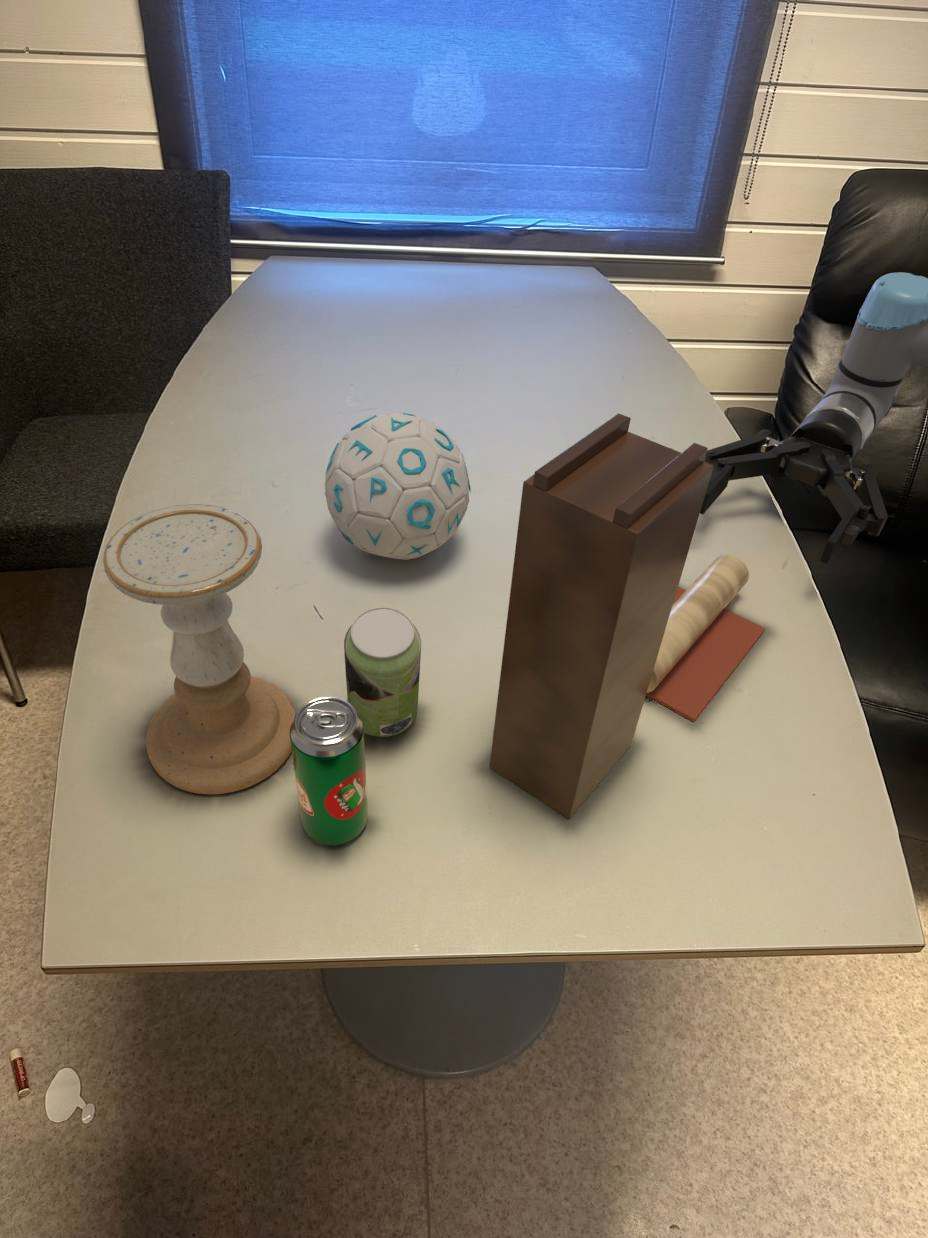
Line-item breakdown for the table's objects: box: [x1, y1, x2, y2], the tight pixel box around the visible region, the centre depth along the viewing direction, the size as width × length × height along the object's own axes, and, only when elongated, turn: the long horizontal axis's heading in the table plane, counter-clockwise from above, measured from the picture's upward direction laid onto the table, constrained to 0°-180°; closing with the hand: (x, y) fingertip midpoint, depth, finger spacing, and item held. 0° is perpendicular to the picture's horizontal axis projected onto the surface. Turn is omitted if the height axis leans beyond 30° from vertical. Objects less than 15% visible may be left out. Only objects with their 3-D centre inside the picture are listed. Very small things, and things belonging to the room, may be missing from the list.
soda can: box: [290, 696, 369, 846], centre depth 60 cm, size 5×5×12 cm
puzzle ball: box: [324, 412, 472, 561], centre depth 86 cm, size 15×15×15 cm
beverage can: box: [343, 606, 422, 738], centre depth 68 cm, size 6×7×12 cm
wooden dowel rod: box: [647, 554, 750, 693], centre depth 81 cm, size 20×4×4 cm, turn 142°
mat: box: [646, 586, 766, 723], centre depth 81 cm, size 12×16×1 cm
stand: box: [489, 413, 713, 820], centre depth 60 cm, size 8×10×29 cm
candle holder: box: [102, 503, 297, 795], centre depth 63 cm, size 12×12×20 cm
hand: (762, 527), depth 86 cm, fingers open, 13 cm apart
